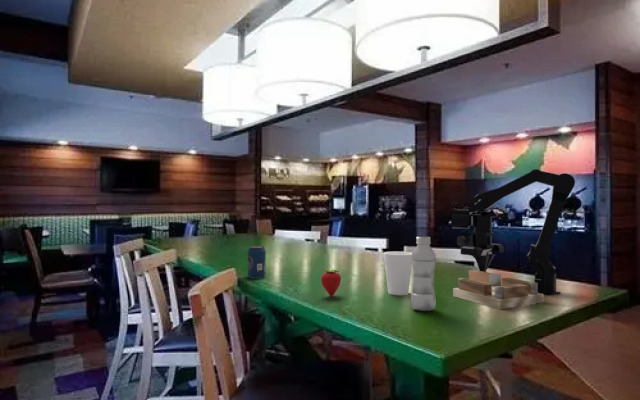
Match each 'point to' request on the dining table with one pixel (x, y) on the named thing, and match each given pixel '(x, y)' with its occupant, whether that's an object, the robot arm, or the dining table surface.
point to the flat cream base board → (499, 293)
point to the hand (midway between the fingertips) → (482, 274)
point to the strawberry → (331, 281)
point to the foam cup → (398, 272)
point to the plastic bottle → (423, 275)
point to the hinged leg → (485, 277)
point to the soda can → (256, 262)
